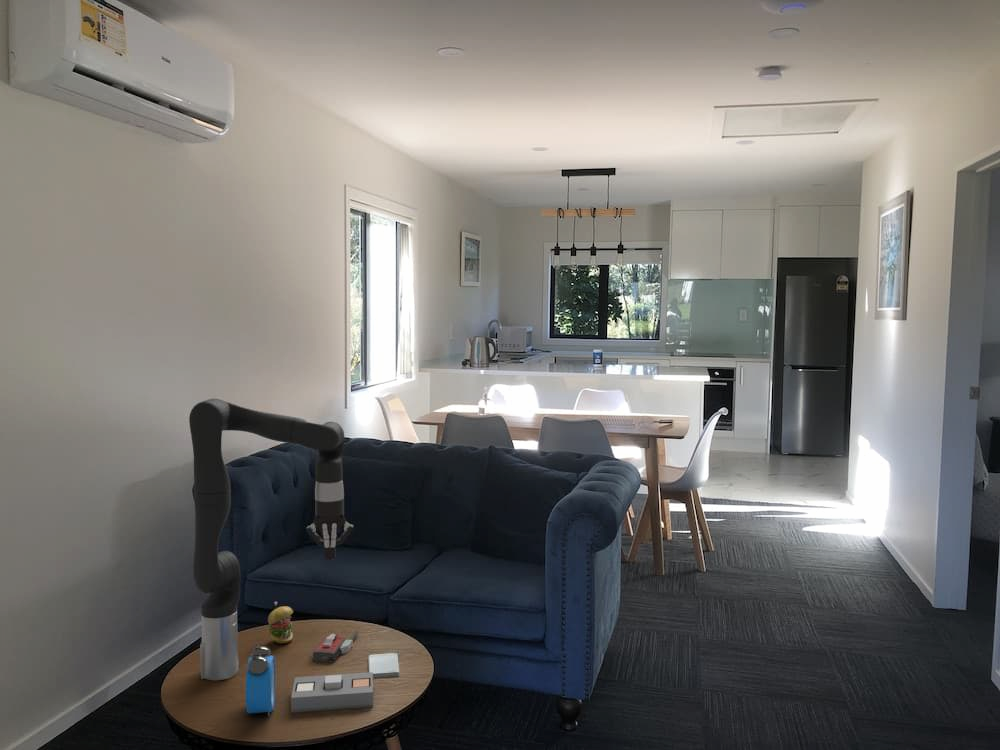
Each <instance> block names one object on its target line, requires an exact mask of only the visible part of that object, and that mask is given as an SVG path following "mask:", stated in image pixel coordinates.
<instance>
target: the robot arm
mask: <svg viewBox="0 0 1000 750" xmlns="http://www.w3.org/2000/svg"><path fill="white" fill-rule="evenodd" d="M188 418H189V419H188V420H189V422H188V424H189V430H190V436H191V442H192V444H191V445H192V450H193V453H192V454H193V496H194V497H193V498H194V499H193V501H194V514H195V515H194V516H195V518H194V520H195V521H194V523H195V524H194V526H195V527H194V530H195V531H194V532H195V535H194V537H195V538H194V551H193V562H192V563H193V568H192V571H193V574H192V575H193V580H194V583H195V586H196V588H197V589H198V590H199V591H200V592H201V593H203V594H209V595H208V596H207V597H206V598H205V599H204V600H203V601H202V603H201V606H200V614H201V615H200V616H201V619H200V620H201V642H200V645H199V647H200V648H199V650H200V657H199V658H200V679H201V680H204V679H205V680H208V681H222V680H227V679H230V678H232V677H234V676H236V675H237V674H238V673H239V640H238V639H239V638H238V637H239V635H238V634H239V633H238V632H239V631H238V630H239V629H238V603H239V601H240V598H241V566H240V562H239V560H238V558H237V555H235V554H234V553H233V552H231V551H227V550H223V551H220V552H219V542H220V541H219V540H220V537H221V534H222V532H223V529H224V527H225V524H226V521H227V519H228V517H229V514H230V511H231V506H232V488H231V487H232V486H231V480H230V476H229V475H230V474H229V473H228V470H227V468H226V465H225V462H224V459H223V454H222V439H223V438H222V437H223V436H222V434H223V431H225V432H226V431H237V432H238V431H240V432H245V433H251V434H254V435H257V436H260V437H262V438H265V439H268V440H272V441H276V442H281V443H286V444H293V445H299V446H302V447H305V448H309V449H311V450H315V451H318V458H317V460H316V464H315V486H314V487H315V488H314V500H315V501H314V502H315V503H314V505H315V506H314V508H315V517H314V519H313V523H311V524H310V525H307V526H306V530H305V532H306V533H307V534H308V535H309V536H310V537H311V539H312V540H313V542H314V543H316V545H317V546H319V547H323V548H324V558H325V560H327V562H333V561H334V560H335V559H336V555H337V553H336V552H337V550H336V549H337V547H338V546H341V545H342V544H344V542H345V540H346V539H347V538H348V537H349V536H350V534H351V533H352V532H353V531H354V524H350V523H349V522H347V519H346V516H345V491H344V490H345V489H344V488H345V487H344V481H343V477H344V476H343V469H344V468H343V456H344V450H345V449H344V448H345V431H344V429H343V427H342V426H341V425H340V424H339V423H338V422H335V421H327V422H325V423H322V424H320V423H314V422H311V421H310V422H309V421H307V420H306V419H304V418H301V417H296V416H291V415H284V414H276V413H272V412H264V411H259V410H255V409H250V408H247V407H243V406H239V405H238V404H234V403H231V402H229V401H226V400H222V399H220V398H209V399H205V400H203V401H200V402H198V403H196V404H195V405H194V406H193V407H192V409H191V410H190V413H189V417H188ZM343 527H344V528H343ZM342 528H343V530H344V532H343V533H341V535H340V537H339V538H337V534H339V533H340V531H341V530H342ZM317 530H318V531H319V533H320V534H321V535H322V536H323V538H321V536H320V535H319V534H318V533H317V532H316V531H317ZM330 535H331V536H330ZM330 538H331V539H330Z"/></svg>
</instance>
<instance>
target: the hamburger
mask: <svg viewBox="0 0 1000 750" xmlns="http://www.w3.org/2000/svg"><path fill="white" fill-rule="evenodd" d="M277 604H278V601H274V605H275V608H274V610H272V611H271V612H270V613H269V615H268V617H267V622H268V624H269V625H268V627H269V633H270V635H269V636H270V638H271V639H272V640H273V642H275V643H278V644H287V643H289V642H291V641H292V639H293V638H294V637H293V635H294V634H293V632H292V631H291V630H293V628H292V625H293V622H292V621H291V620H290V619H292V616H291V615H293V613H294V610H293V609H292V607H290V606H287V605H285V606H279V607H277Z"/></svg>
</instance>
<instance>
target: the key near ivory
mask: <svg viewBox="0 0 1000 750" xmlns="http://www.w3.org/2000/svg"><path fill="white" fill-rule="evenodd" d="M311 690H314V683H305V684H298V686H297V691H311ZM297 691H296V692H297Z"/></svg>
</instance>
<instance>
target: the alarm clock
mask: <svg viewBox="0 0 1000 750" xmlns="http://www.w3.org/2000/svg"><path fill="white" fill-rule="evenodd" d="M275 662H276V660H275V656H274V655H272V651H271V649H270V648H269V647H268V646H264V645H262V644H260V646H259V645H258V646H256V647H255V648H253V649H252V650H251V652H250V657H249V658H248V660H247V666H246V674H245V706H246V711H247V712H246V713H248V714H260V713H267V716H268V717H269V716H270V713H271V712H272V711H273V710H274V707H275V698H276V697H275V696H276V663H275Z"/></svg>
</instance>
